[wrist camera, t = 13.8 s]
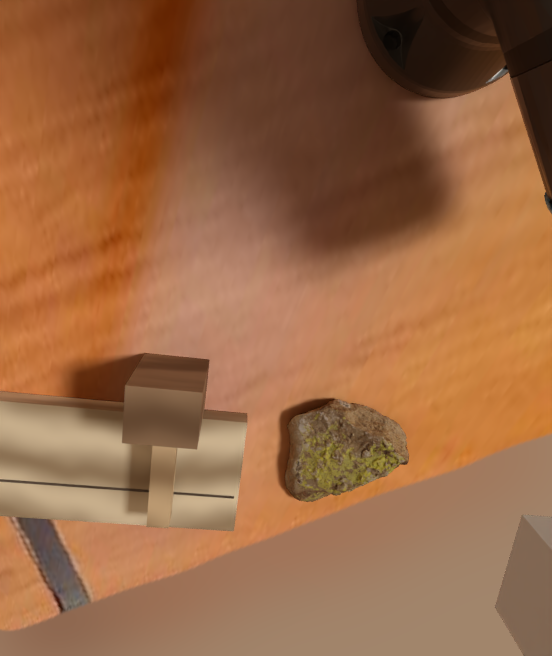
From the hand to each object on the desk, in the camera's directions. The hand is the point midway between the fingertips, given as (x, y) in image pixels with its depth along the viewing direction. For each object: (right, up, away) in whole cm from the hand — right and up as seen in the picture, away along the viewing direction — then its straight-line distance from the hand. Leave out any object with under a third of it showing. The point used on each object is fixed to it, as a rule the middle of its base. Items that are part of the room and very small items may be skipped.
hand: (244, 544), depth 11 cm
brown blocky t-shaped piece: (-9, -5, +36) cm, 38 cm away
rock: (+6, -6, +38) cm, 39 cm away
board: (-17, -8, +36) cm, 41 cm away
